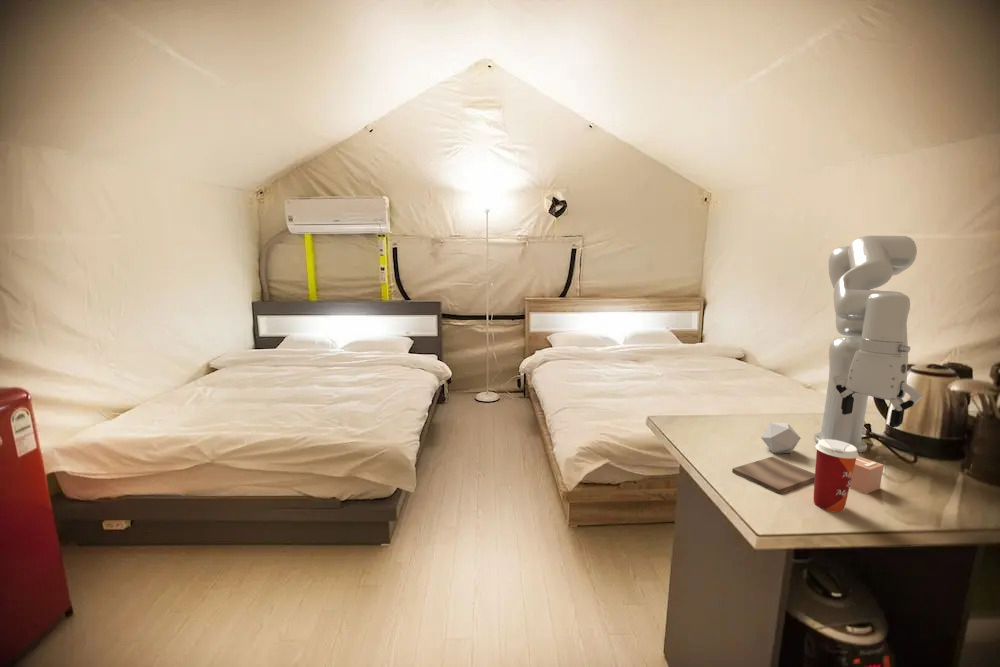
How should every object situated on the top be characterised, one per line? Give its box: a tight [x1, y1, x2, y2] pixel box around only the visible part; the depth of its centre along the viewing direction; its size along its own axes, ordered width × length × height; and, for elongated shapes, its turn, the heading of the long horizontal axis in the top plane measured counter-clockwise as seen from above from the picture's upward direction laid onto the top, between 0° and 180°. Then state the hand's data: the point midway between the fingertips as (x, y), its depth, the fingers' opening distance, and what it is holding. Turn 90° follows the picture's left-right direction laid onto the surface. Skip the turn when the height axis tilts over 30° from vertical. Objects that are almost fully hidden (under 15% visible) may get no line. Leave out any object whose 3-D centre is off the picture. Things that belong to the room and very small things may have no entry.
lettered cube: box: [849, 455, 884, 495], centre depth 114 cm, size 6×6×6 cm
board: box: [731, 456, 815, 494], centre depth 118 cm, size 16×12×1 cm
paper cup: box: [813, 439, 860, 513], centre depth 104 cm, size 8×8×14 cm
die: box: [760, 422, 801, 454], centre depth 133 cm, size 8×9×10 cm
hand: (869, 419), depth 111 cm, fingers open, 9 cm apart
